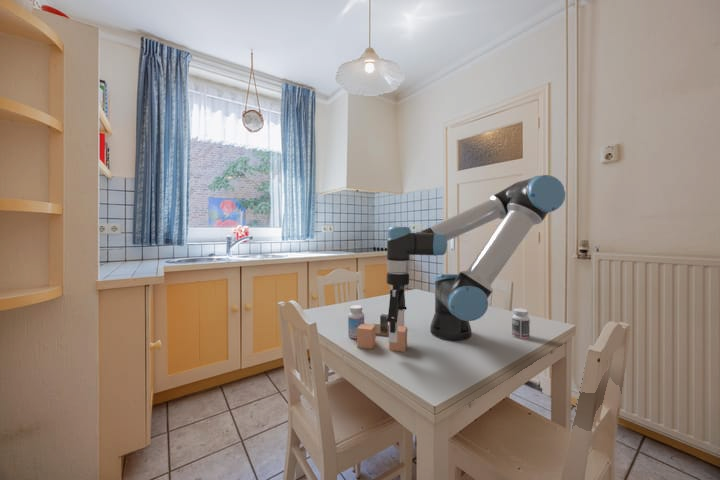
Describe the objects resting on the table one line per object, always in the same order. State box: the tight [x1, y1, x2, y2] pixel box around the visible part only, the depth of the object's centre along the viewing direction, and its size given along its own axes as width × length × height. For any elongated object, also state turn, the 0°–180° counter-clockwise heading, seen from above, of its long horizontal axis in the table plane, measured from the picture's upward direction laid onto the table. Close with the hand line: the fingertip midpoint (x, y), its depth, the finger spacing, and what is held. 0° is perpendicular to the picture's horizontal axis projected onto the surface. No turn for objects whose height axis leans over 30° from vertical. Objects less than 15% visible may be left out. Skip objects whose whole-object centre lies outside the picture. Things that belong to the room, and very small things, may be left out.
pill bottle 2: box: [511, 307, 531, 340], centre depth 107 cm, size 6×6×10 cm
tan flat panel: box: [372, 313, 389, 337], centre depth 114 cm, size 14×10×6 cm
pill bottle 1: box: [347, 304, 365, 340], centre depth 109 cm, size 6×6×11 cm
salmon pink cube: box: [388, 325, 408, 352], centre depth 98 cm, size 5×5×7 cm
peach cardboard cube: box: [356, 323, 377, 350], centre depth 100 cm, size 5×5×7 cm
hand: (396, 334), depth 98 cm, fingers open, 13 cm apart
